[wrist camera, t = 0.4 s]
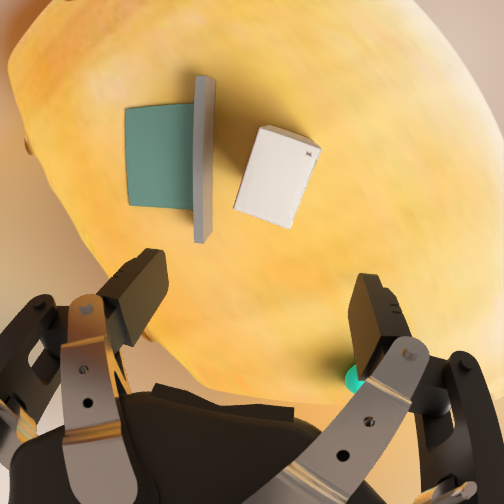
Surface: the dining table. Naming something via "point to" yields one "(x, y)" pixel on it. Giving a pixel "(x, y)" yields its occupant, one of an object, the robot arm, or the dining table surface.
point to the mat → (160, 156)
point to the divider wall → (203, 156)
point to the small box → (276, 175)
